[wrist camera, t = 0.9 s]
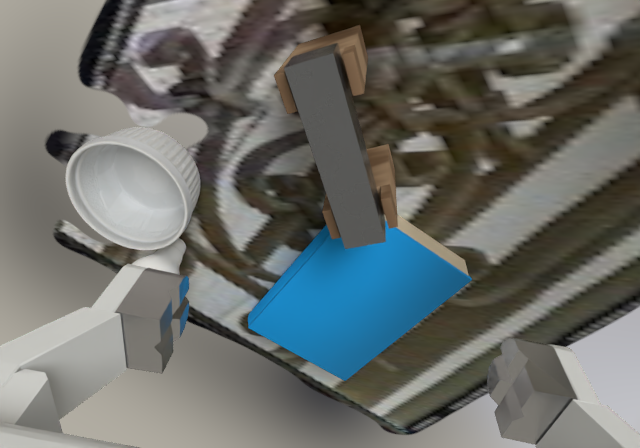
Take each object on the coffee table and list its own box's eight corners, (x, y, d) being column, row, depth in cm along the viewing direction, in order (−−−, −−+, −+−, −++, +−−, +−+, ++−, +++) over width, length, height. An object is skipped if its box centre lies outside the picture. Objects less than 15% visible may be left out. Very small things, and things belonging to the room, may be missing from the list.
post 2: (388, 144, 45) (390, 197, 36) (394, 169, 47) (397, 226, 37) (334, 156, 47) (322, 211, 37) (341, 180, 48) (331, 239, 39)
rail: (337, 42, 32) (333, 53, 29) (385, 219, 40) (385, 242, 37) (292, 56, 33) (283, 68, 30) (347, 226, 41) (345, 249, 38)
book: (473, 278, 49) (346, 383, 62) (466, 256, 53) (348, 359, 66) (352, 200, 46) (243, 329, 58) (354, 181, 49) (251, 306, 62)
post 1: (359, 24, 39) (353, 51, 30) (367, 58, 41) (363, 93, 31) (298, 44, 41) (273, 75, 32) (308, 75, 42) (287, 114, 33)
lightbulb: (161, 214, 54) (117, 270, 45) (207, 234, 55) (172, 292, 46) (152, 249, 57) (108, 307, 48) (195, 266, 58) (161, 327, 49)
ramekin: (78, 158, 51) (40, 186, 45) (146, 91, 45) (112, 113, 40) (162, 234, 56) (137, 268, 50) (233, 183, 50) (214, 214, 45)
